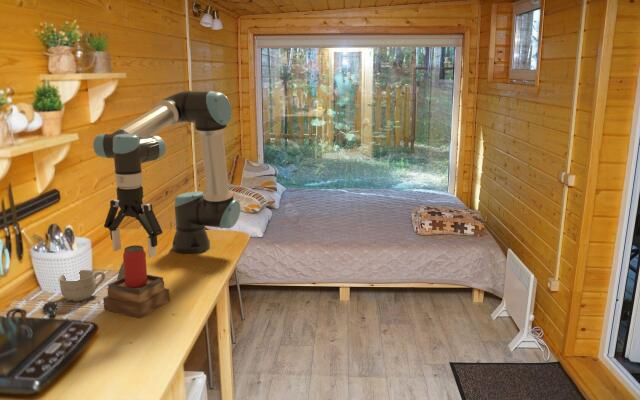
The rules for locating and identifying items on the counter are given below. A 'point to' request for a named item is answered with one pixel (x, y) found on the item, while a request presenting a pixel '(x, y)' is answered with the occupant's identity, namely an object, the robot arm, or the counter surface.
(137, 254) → the beer can
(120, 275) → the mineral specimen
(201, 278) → the counter surface
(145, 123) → the robot arm
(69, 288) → the teacup
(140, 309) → the tower base
